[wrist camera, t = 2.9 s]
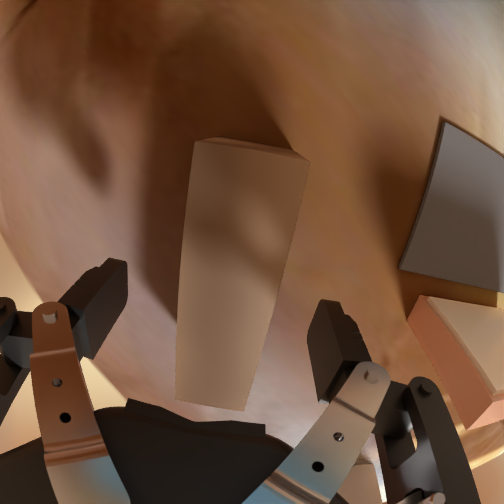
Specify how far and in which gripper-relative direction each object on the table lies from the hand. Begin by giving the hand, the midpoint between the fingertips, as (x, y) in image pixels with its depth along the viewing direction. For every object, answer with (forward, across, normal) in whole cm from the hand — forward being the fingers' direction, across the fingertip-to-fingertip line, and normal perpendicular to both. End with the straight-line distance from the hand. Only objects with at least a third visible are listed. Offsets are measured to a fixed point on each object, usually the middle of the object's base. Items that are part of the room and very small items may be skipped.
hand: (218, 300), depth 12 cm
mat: (+4, -16, -6) cm, 18 cm away
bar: (+4, 0, 0) cm, 4 cm away
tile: (+4, -16, +1) cm, 17 cm away
